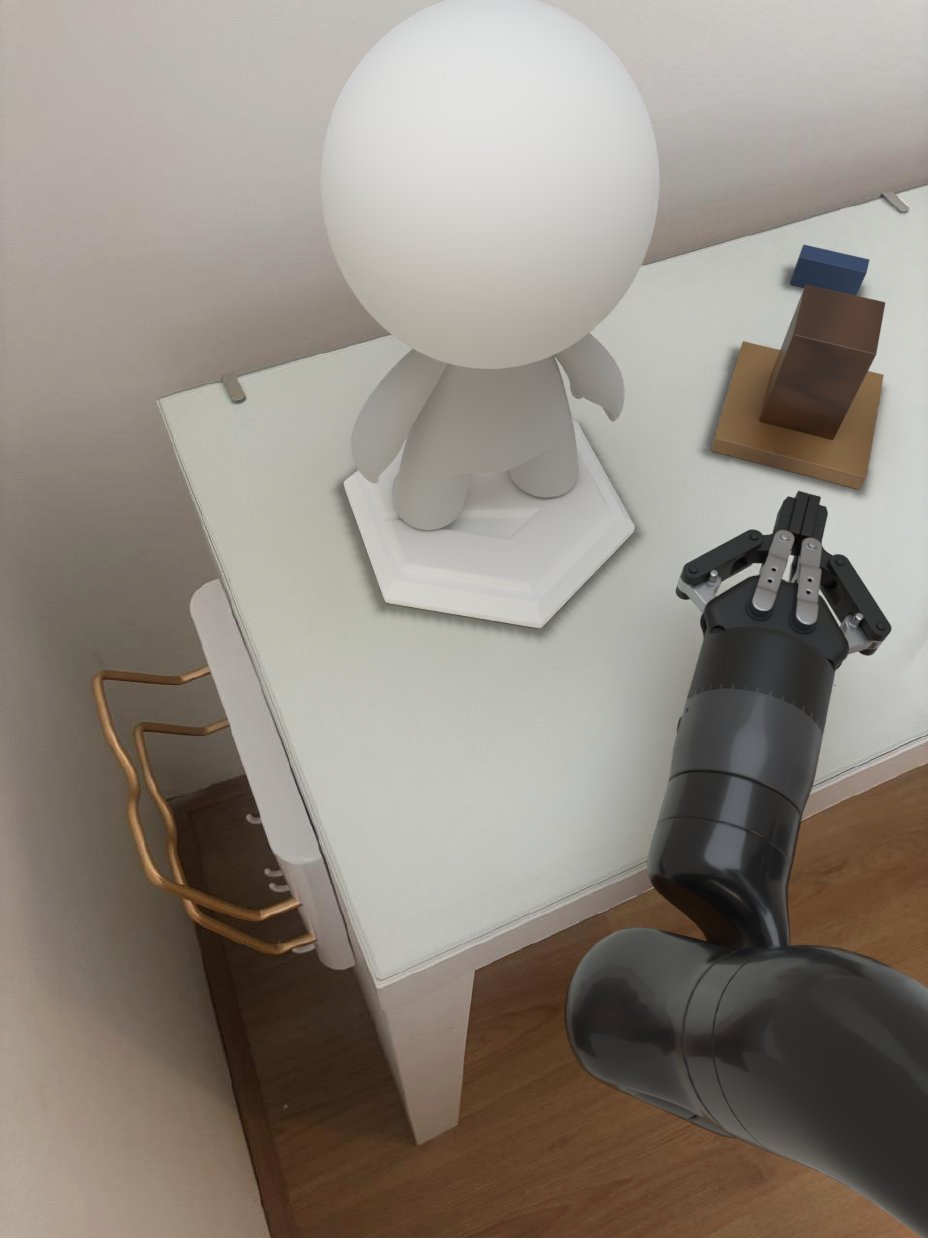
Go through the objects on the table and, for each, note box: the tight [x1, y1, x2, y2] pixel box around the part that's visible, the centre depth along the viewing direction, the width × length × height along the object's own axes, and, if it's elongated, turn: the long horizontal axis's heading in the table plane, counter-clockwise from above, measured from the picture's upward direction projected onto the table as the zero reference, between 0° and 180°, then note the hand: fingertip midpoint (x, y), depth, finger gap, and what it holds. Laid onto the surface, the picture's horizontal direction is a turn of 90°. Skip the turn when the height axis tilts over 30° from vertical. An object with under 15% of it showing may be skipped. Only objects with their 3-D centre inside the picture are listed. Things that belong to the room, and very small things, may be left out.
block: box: [710, 285, 886, 490], centre depth 72 cm, size 12×12×10 cm
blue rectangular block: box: [789, 244, 870, 296], centre depth 84 cm, size 6×2×3 cm, turn 69°
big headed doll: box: [320, 0, 660, 629], centre depth 57 cm, size 20×23×35 cm
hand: (804, 501), depth 59 cm, fingers closed
